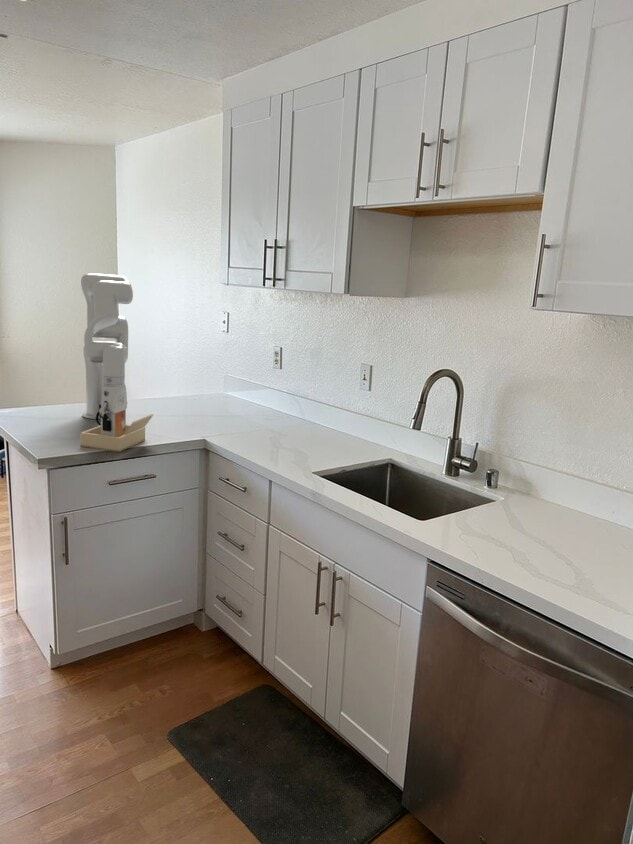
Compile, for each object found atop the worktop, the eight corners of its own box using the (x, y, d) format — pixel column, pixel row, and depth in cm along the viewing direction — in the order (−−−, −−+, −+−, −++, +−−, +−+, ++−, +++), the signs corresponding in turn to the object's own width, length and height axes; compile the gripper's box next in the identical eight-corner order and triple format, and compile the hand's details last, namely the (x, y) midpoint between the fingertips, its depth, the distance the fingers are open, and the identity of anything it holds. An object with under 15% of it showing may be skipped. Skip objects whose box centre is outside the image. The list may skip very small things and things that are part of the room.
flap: (152, 413, 227) (153, 414, 227) (143, 426, 229) (144, 427, 229) (133, 421, 214) (134, 422, 214) (123, 434, 216) (124, 435, 216)
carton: (108, 434, 236) (108, 422, 235) (145, 440, 233) (145, 427, 231) (80, 446, 219) (80, 432, 217) (119, 452, 215) (119, 438, 214)
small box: (114, 439, 221) (114, 411, 218) (100, 438, 222) (100, 409, 219) (126, 434, 229) (126, 406, 226) (112, 432, 230) (112, 404, 227)
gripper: (109, 385, 211) (109, 434, 215) (135, 378, 228) (135, 424, 232) (90, 383, 213) (90, 432, 217) (117, 375, 229) (117, 421, 234)
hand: (113, 427), depth 224 cm, fingers closed on small box, 8 cm apart
